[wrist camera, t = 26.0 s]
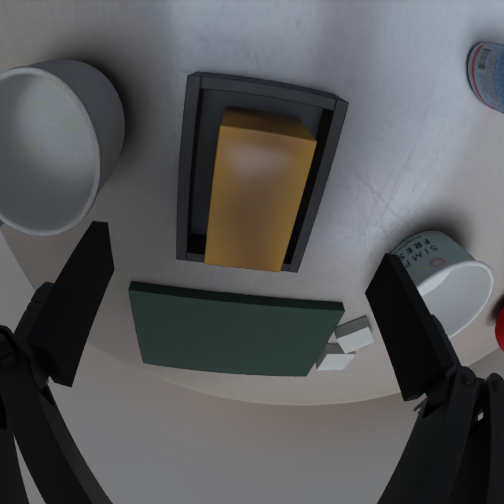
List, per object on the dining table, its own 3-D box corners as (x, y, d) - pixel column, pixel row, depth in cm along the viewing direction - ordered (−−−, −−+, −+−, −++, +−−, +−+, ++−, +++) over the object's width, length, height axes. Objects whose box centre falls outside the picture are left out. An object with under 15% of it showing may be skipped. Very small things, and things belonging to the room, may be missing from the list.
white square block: (342, 344, 36) (345, 354, 35) (333, 328, 34) (336, 339, 33) (371, 332, 35) (374, 342, 34) (365, 316, 33) (368, 326, 31)
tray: (182, 236, 25) (176, 259, 23) (195, 71, 17) (187, 75, 15) (292, 249, 26) (297, 272, 24) (335, 94, 18) (349, 102, 16)
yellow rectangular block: (210, 219, 24) (204, 264, 19) (225, 106, 18) (219, 125, 14) (273, 226, 24) (280, 272, 20) (299, 118, 19) (317, 141, 15)
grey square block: (314, 360, 38) (316, 370, 37) (325, 343, 36) (327, 354, 35) (341, 360, 39) (343, 370, 37) (353, 344, 36) (355, 354, 35)
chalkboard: (144, 355, 37) (143, 363, 36) (131, 281, 28) (128, 289, 28) (305, 369, 40) (306, 376, 39) (342, 302, 31) (345, 311, 30)
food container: (430, 195, 23) (469, 238, 18) (477, 252, 27) (505, 292, 22) (344, 281, 29) (362, 334, 24) (406, 316, 33) (424, 359, 28)
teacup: (100, 26, 14) (33, 25, 8) (168, 144, 20) (134, 195, 14) (-7, 130, 17) (-66, 169, 11) (51, 218, 24) (8, 275, 17)
